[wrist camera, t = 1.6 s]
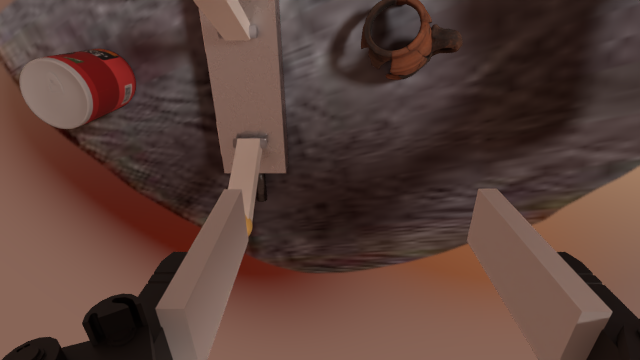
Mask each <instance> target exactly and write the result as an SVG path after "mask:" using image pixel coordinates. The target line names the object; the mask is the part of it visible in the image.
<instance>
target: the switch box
mask: <svg viewBox="0 0 640 360" xmlns="http://www.w3.org/2000/svg"><path fill="white" fill-rule="evenodd" d="M238 1H239V3H240V5H241V7H242V9H243V11H244V13H245V14H246V16H247V18H248V20H249V22H250V25H256V27H257V38H250V40H236V41H225V40H224V39H220V38H219V37H218V33H217V30H216V29H215V27H214V26H213V25H212V24H211V22H210V21H209V20H208V19H207V17H206V16H205V15H204V14H203V12H202V11H201V10H200V9H199V14H200V20H201V27H202V33H203V40H204V46H205V52H206V56H207V62H208V69H209V75H210V82H211V88H212V95H213V101H214V108H215V114H216V121H217V122H216V123H217V130H218V136H219V143H220V149H221V156H222V159H223V166H224V172H225V173H231V171H232V166H233V160H234V155H235V150H236V149H234V148H233V139H234V138H266V139H267V148H262V154H261V161H260V168H259V176H258V183H257V190H256V193H257V200H258V201H259V202H264V201H266V200H267V191H266V181H265V173H286V171H287V167H288V163H289V158H288V141H287V124H286V107H285V91H284V74H283V57H282V41H281V24H280V7H279V0H238Z"/></svg>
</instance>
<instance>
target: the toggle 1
mask: <svg viewBox="0 0 640 360" xmlns="http://www.w3.org/2000/svg"><path fill="white" fill-rule="evenodd" d="M193 1H194V2H195V4H196V5H197V6H198V7H199V9H200V10H201V11H202V12H203V14H204V15H205V16H206V17H207V19H208V20H209V21H210V22H211V24H212V25H213V26H214V27H215V29H216V30H217V33H218V37H219V38H220V39H224V40H225V41H236V40H250V38H257V27H256V25H250V22H249V20H248V18H247V16H246V14H245V13H244V11H243V9H242V7H241V5H240V3H239V1H238V0H193Z"/></svg>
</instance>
